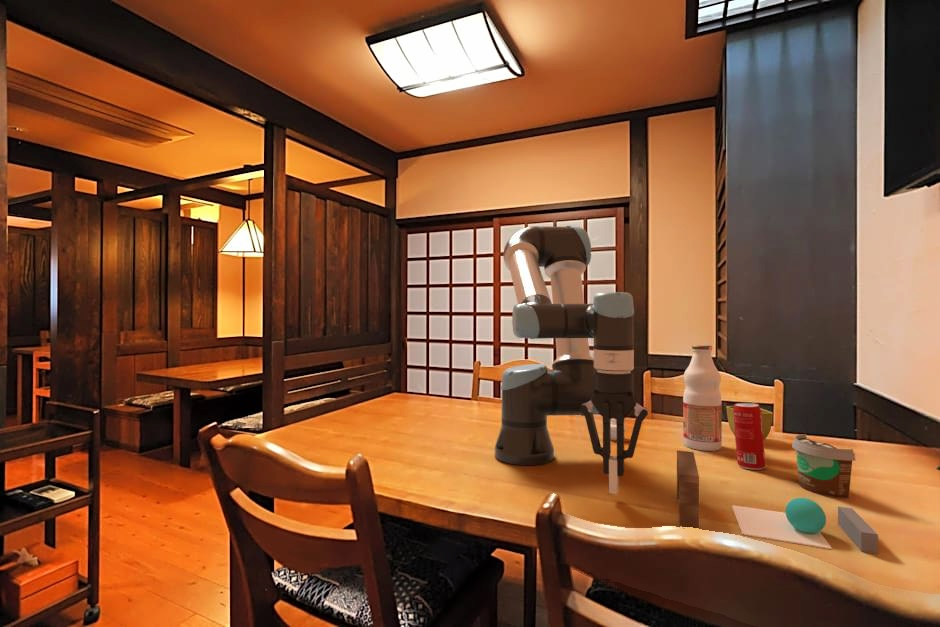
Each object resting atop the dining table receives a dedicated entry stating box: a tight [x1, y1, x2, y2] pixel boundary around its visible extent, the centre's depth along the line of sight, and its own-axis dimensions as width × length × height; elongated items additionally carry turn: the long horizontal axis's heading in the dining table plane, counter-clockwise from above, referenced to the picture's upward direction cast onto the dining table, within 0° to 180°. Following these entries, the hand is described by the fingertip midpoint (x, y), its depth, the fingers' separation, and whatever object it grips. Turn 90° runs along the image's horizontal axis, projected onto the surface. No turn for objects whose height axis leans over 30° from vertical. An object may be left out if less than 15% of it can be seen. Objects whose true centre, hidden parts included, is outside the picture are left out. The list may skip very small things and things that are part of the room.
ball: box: [784, 497, 827, 533], centre depth 76 cm, size 6×6×6 cm
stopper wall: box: [837, 506, 879, 555], centre depth 74 cm, size 2×10×3 cm, turn 157°
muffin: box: [611, 418, 626, 441], centre depth 133 cm, size 6×6×7 cm
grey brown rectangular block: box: [676, 449, 700, 529], centre depth 84 cm, size 3×14×9 cm, turn 157°
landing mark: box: [731, 504, 833, 550], centre depth 78 cm, size 12×12×1 cm
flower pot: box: [725, 405, 774, 441], centre depth 130 cm, size 9×9×9 cm
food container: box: [791, 433, 856, 499], centre depth 94 cm, size 12×6×10 cm, turn 5°
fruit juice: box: [682, 344, 723, 452], centre depth 125 cm, size 9×9×28 cm
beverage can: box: [733, 402, 767, 471], centre depth 108 cm, size 6×6×15 cm
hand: (613, 491), depth 89 cm, fingers closed
